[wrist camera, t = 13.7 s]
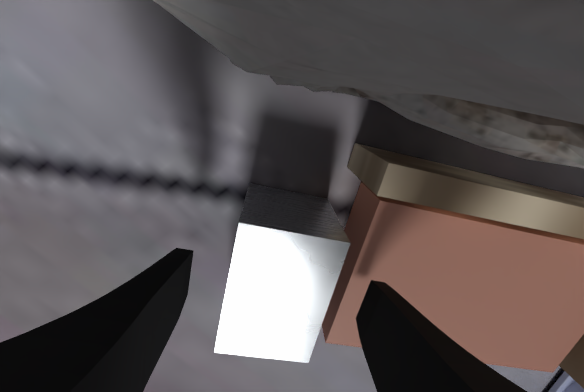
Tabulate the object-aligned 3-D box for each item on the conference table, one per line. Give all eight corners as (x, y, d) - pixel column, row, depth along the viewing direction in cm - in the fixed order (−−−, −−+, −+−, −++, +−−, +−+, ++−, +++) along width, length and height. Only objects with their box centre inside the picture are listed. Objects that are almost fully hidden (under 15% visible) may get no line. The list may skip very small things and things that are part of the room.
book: (579, 229, 16) (644, 257, 13) (510, 330, 19) (553, 372, 16) (358, 179, 14) (380, 200, 11) (316, 300, 17) (325, 342, 14)
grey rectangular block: (327, 197, 14) (350, 243, 10) (298, 291, 16) (308, 362, 12) (249, 182, 13) (238, 222, 9) (230, 281, 15) (214, 352, 11)
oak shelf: (647, 212, 15) (768, 250, 12) (549, 344, 19) (619, 407, 15) (354, 143, 13) (388, 162, 9) (302, 310, 16) (311, 375, 12)
